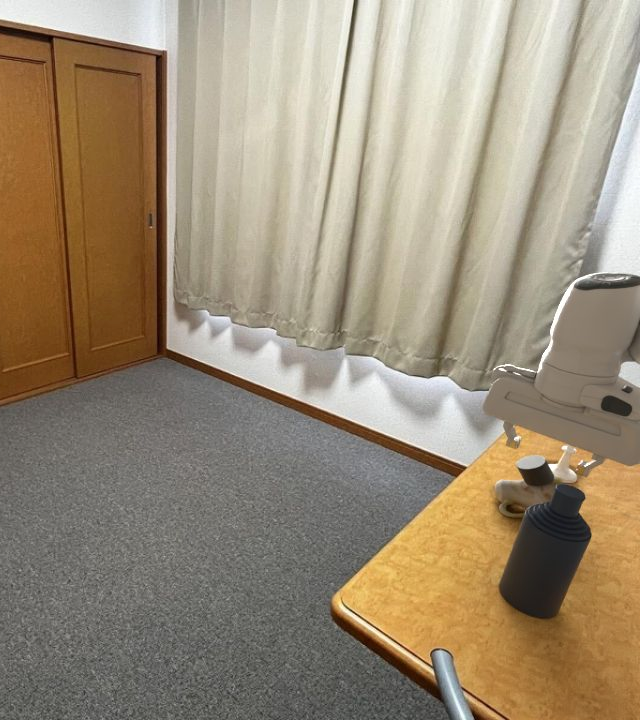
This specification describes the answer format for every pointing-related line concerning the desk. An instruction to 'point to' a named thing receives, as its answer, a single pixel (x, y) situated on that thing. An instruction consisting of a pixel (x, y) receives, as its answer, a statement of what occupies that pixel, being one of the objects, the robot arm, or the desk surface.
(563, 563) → the flask
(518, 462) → the stopper
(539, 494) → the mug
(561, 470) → the chess piece
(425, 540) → the desk surface
